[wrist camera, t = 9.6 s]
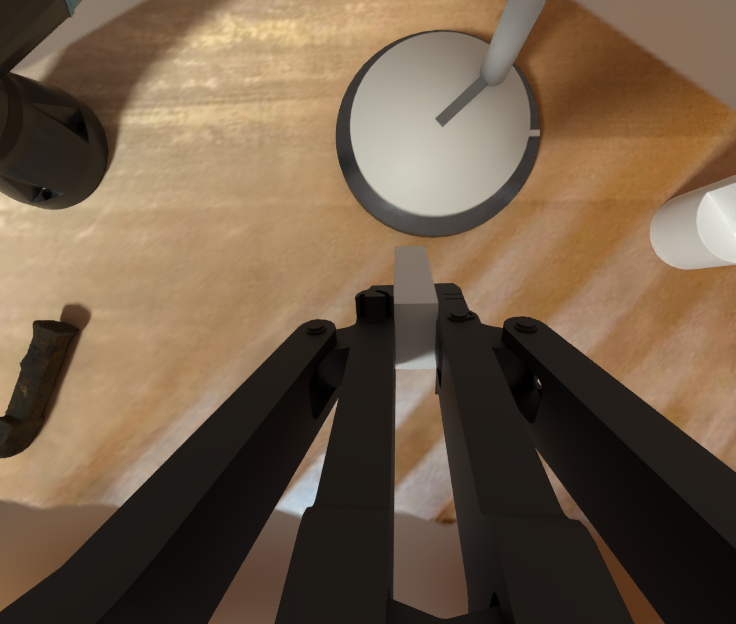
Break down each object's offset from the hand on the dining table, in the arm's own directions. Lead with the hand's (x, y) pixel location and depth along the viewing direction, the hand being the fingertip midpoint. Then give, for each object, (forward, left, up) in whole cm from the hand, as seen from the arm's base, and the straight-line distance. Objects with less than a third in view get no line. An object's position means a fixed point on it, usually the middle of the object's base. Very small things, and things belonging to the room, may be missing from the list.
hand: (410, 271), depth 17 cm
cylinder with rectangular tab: (+27, +23, -25) cm, 43 cm away
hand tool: (-34, -35, -25) cm, 55 cm away
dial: (-5, +18, -23) cm, 30 cm away
